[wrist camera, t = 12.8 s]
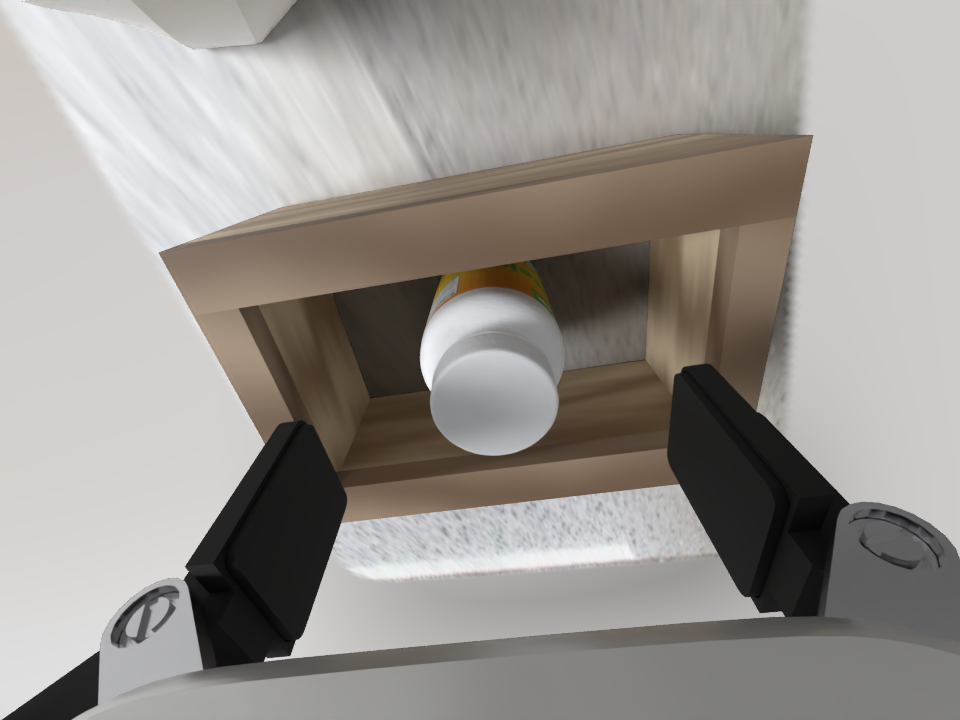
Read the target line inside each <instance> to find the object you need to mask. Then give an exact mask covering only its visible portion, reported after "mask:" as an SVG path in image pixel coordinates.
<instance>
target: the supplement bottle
mask: <svg viewBox="0 0 960 720" xmlns="http://www.w3.org/2000/svg"><path fill="white" fill-rule="evenodd" d="M420 364H421V371H422V374H423V377H424V380H425V382H426V384H427V386H428V388H429V389H430V391H431V395H430V408H431V414H432V417H433V420H434V422H435V424H436V426H437V428H438V429H439V431H440V432H441V433H442V434H443V435H444V436H445V437H446V438H447V439H448V440H449V441H450V442H452V443H453V444H455V445H456V446H458V447H460V448H462V449H464V450H466V451H469V452H472V453H476V454H480V455H491V456H497V455H506V454H511V453H515V452H518V451H521V450H523V449H526V448H528V447H530V446H531V445H533V444H534V443H536V442H537V441H538V440H540V439H541V438H542V437H543V436H544V435H545V434H546V433H547V432H548V430H549V429H550V428H551V426H552V425H553V423H554V420H555V418H556V415H557V411H558V406H559V396H558V390H557V385H558V383H559V381H560V378H561V376H562V373H563V369H564V365H565V347H564V342H563V338H562V334H561V331H560V329H559V326H558V323H557V321H556V318H555V316H554V314H553V311H552V309H551V306H550V303H549V301H548V298H547V295H546V292H545V290H544V287H543V284H542V281H541V279H540V277H539V275H538V273H537V271H536V269H535V268H534V267H533V265H532V264H531V263H530V262H529V261H524V262H517V263H511V264H505V265H499V266H493V267H487V268H481V269H475V270H469V271H463V272H457V273H451V274H444V275H442V276H441V279H440V281H439V284H438V287H437V290H436V293H435V297H434V300H433V304H432V307H431V310H430V314H429V317H428V321H427V324H426V327H425V330H424V334H423V338H422V343H421V350H420Z"/></svg>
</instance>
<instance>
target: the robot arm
mask: <svg viewBox="0 0 960 720" xmlns="http://www.w3.org/2000/svg"><path fill="white" fill-rule="evenodd" d="M667 458H668V463H669V465H670V468H671V470H672V471H673V473H674V475H675V477H676V479H677V480H678V482H679V484H680V486H681V488H682V489H683V491H684V493H685V495H686V497H687V498H688V500H689V502H690V504H691V506H692V507H693V509H694V511H695V513H696V515H697V516H698V518H699V520H700V522H701V524H702V525H703V527H704V529H705V531H706V532H707V534H708V536H709V538H710V540H711V541H712V543H713V545H714V547H715V549H716V550H717V552H718V554H719V556H720V558H721V559H722V561H723V563H724V565H725V566H726V568H727V570H728V572H729V574H730V576H731V577H732V579H733V581H734V583H735V585H736V586H737V588H738V590H739V591H740V593H741V594H742V595H743V596H745V597H751V598H752V600H753V602H754V604H755V605H756V607H757V609H758V611H759V612H760V613H768V612H778V611H782V612H783V614H784V615H785V617H768V618H754V619H738V620H723V621H709V622H694V623H680V624H669V625H656V626H645V627H633V628H621V629H610V630H598V631H587V632H576V633H563V634H551V635H540V636H529V637H518V638H507V639H496V640H484V641H473V642H463V643H452V644H441V645H430V646H419V647H408V648H398V649H387V650H377V651H367V652H357V653H346V654H336V655H325V656H315V657H304V658H294V659H285V660H276V661H268V662H264V660H265V657H267V658H274V657H285V656H290V655H291V652H292V649H293V646H294V644H295V641H296V640H297V639H299V638H300V637H301V636H302V634H303V632H304V630H305V627H306V624H307V621H308V619H309V616H310V613H311V610H312V607H313V603H314V601H315V598H316V595H317V592H318V589H319V586H320V583H321V580H322V577H323V574H324V571H325V569H326V565H327V562H328V560H329V557H330V554H331V551H332V548H333V545H334V542H335V539H336V536H337V533H338V530H339V527H340V524H341V521H342V519H343V516H344V513H345V510H346V506H347V495H346V492H345V490H344V488H343V486H342V484H341V482H340V480H339V478H338V475H337V473H336V471H335V469H334V467H333V465H332V463H331V461H330V459H329V457H328V455H327V453H326V451H325V449H324V447H323V445H322V443H321V441H320V438H319V436H318V434H317V432H316V430H315V428H314V427H313V426H312V425H308V424H307V423H306V422H305V421H303V420H299V421H292V422H284V423H281V424H279V425H278V426H277V427H276V429H275V430H274V432H273V433H272V435H271V436H270V438H269V440H268V441H267V443H266V444H265V446H264V447H263V449H262V450H261V452H260V453H259V455H258V456H257V458H256V459H255V461H254V462H253V464H252V465H251V467H250V469H249V470H248V472H247V473H246V475H245V476H244V478H243V479H242V481H241V482H240V484H239V485H238V487H237V488H236V490H235V491H234V493H233V494H232V496H231V497H230V499H229V501H228V502H227V504H226V505H225V507H224V508H223V510H222V511H221V513H220V514H219V516H218V517H217V519H216V520H215V522H214V523H213V525H212V526H211V528H210V529H209V531H208V533H207V534H206V535H205V537H204V538H203V540H202V542H201V543H200V545H199V546H198V548H197V549H196V551H195V552H194V554H193V555H192V557H191V558H190V560H189V561H188V563H187V564H186V566H185V567H186V569H187V570H188V571H189V572H188V574H187V576H186V577H185V579H184V580H181V579H179V578H168V579H164V580H161V581H159V582H156V583H154V584H152V585H150V586H148V587H146V588H144V589H143V590H141V591H140V592H139V593H137V594H136V595H134V596H133V597H132V598H131V599H129V600H128V601H127V602H126V603H125V604H124V605H123V606H122V607H121V608H120V609H119V610H118V611H117V613H116V614H115V615H114V616H113V618H112V619H111V620H110V622H109V623H108V625H107V627H106V629H105V631H104V633H103V635H102V639H101V643H100V651H99V652H97V653H95V654H94V655H93V656H91V657H90V658H88V659H87V660H86V661H84V662H83V663H81V664H80V665H79V666H77V667H76V668H74V669H73V670H72V671H70V672H69V673H67V674H66V675H64V676H63V677H62V678H60V679H59V680H57V681H56V682H55V683H53V684H52V685H50V686H49V687H47V688H46V689H45V690H43V691H42V692H40V693H39V694H38V695H36V696H35V697H33V698H32V699H30V700H29V701H28V702H26V703H25V704H23V705H22V706H21V707H19V708H18V709H16V710H15V711H14V712H12V713H11V714H9V715H8V716H7V717H5V718H4V719H2V720H960V558H959V556H958V553H957V550H956V548H955V547H954V546H953V545H952V544H951V542H950V541H949V540H948V538H947V537H946V536H945V535H944V534H943V533H941V532H940V531H939V530H938V529H936V528H935V527H934V526H932V525H931V524H930V523H928V522H926V521H925V520H923V519H921V518H919V517H917V516H916V515H914V514H912V513H909V512H907V511H904V510H902V509H899V508H897V507H894V506H889V505H885V504H881V503H874V502H859V503H854V504H849V503H848V502H847V501H846V500H845V499H844V498H843V497H842V496H841V495H840V494H839V493H838V491H837V490H836V489H834V487H833V486H832V485H831V484H829V482H828V481H827V480H826V479H825V478H824V477H823V476H822V475H821V474H820V473H819V472H818V471H817V470H816V469H815V468H814V467H813V466H812V465H811V464H810V463H809V462H808V461H807V460H806V459H805V458H804V457H803V455H801V453H800V452H799V451H798V450H797V449H796V448H795V447H794V446H793V445H792V444H791V443H790V442H789V441H788V440H787V439H786V438H785V437H784V436H783V435H782V434H781V433H780V432H779V431H778V430H777V429H776V428H775V427H774V426H773V425H772V424H771V423H770V422H769V420H768V419H767V418H766V417H764V416H763V415H762V414H760V413H758V412H756V411H755V410H754V409H753V408H752V406H751V405H750V404H749V403H748V402H747V401H746V400H745V399H744V398H743V397H742V396H741V395H740V394H739V393H738V392H737V391H736V390H735V389H734V388H733V387H732V386H731V385H730V384H729V383H728V381H727V380H726V379H725V378H724V377H723V376H722V375H721V374H720V373H719V372H718V371H717V370H716V369H715V368H714V367H713V366H712V365H711V364H708V363H706V364H699V365H692V366H685V367H683V368H682V370H681V373H677V374H675V376H674V383H673V394H672V405H671V416H670V426H669V437H668V448H667Z"/></svg>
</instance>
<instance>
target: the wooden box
mask: <svg viewBox="0 0 960 720" xmlns="http://www.w3.org/2000/svg"><path fill="white" fill-rule="evenodd" d="M812 138H813V135H701V134H678V135H672V136H667V137H661V138H656V139H651V140H645V141H640V142H634V143H629V144H624V145H618V146H613V147H607V148H602V149H596V150H591V151H586V152H580V153H575V154H569V155H564V156H559V157H553V158H548V159H542V160H537V161H531V162H526V163H521V164H515V165H510V166H504V167H499V168H494V169H488V170H483V171H477V172H472V173H467V174H461V175H456V176H450V177H445V178H439V179H434V180H429V181H423V182H418V183H412V184H407V185H402V186H396V187H391V188H385V189H380V190H374V191H369V192H364V193H358V194H353V195H347V196H342V197H337V198H331V199H326V200H320V201H315V202H309V203H304V204H299V205H293V206H288V207H282V208H278V209H275V210H273V211H270V212H267V213H265V214H262V215H259V216H256V217H254V218H251V219H248V220H246V221H243V222H240V223H238V224H235V225H232V226H229V227H227V228H224V229H221V230H219V231H216V232H213V233H211V234H208V235H205V236H203V237H200V238H197V239H194V240H192V241H189V242H186V243H184V244H181V245H178V246H176V247H173V248H170V249H167V250H165V251H162V252H159V254H160V256H161V258H162V260H163V261H164V263H165V265H166V267H167V269H168V270H169V272H170V274H171V276H172V278H173V279H174V281H175V283H176V285H177V287H178V288H179V290H180V292H181V294H182V296H183V297H184V299H185V301H186V303H187V305H188V306H189V308H190V310H191V312H192V314H193V315H194V317H195V319H196V321H197V323H198V324H199V326H200V328H201V330H202V332H203V333H204V335H205V337H206V339H207V341H208V342H209V344H210V346H211V348H212V350H213V351H214V353H215V355H216V357H217V359H218V360H219V362H220V364H221V366H222V367H223V369H224V371H225V373H226V375H227V376H228V378H229V380H230V382H231V384H232V385H233V387H234V389H235V391H236V393H237V394H238V396H239V398H240V400H241V402H242V403H243V405H244V407H245V409H246V411H247V412H248V414H249V416H250V418H251V420H252V421H253V423H254V425H255V427H256V429H257V430H258V432H259V434H260V436H261V438H262V439H263V441H264V443H265V444H266V443H267V441H268V440H269V438H270V436H271V435H272V433H273V432H274V430H275V429H276V427H277V426H278V425H279V424H281V423H284V422H292V421H299V420H303V421H305V422H306V423H307V424H308V425H312V426H313V427H314V428H315V430H316V432H317V434H318V436H319V438H320V441H321V443H322V445H323V447H324V449H325V451H326V453H327V455H328V457H329V459H330V461H331V463H332V465H333V467H334V469H335V471H336V473H337V475H338V478H339V480H340V482H341V484H342V486H343V488H344V490H345V492H346V495H347V506H346V510H345V513H344V516H343V519H342V521H341V523H344V522H353V521H361V520H370V519H379V518H388V517H396V516H405V515H414V514H422V513H431V512H440V511H449V510H457V509H466V508H475V507H483V506H492V505H501V504H509V503H518V502H527V501H536V500H544V499H553V498H562V497H570V496H579V495H588V494H597V493H605V492H614V491H623V490H631V489H640V488H649V487H658V486H666V485H675V484H679V482H678V480H677V479H676V477H675V475H674V473H673V471H672V470H671V468H670V465H669V463H668V458H667V448H668V437H669V426H670V416H671V405H672V394H673V383H674V376H675V374H677V373H681V370H682V368H683V367H685V366H692V365H699V364H706V363H708V364H711V365H712V366H713V367H714V368H715V369H716V370H717V371H718V372H719V373H720V374H721V375H722V376H723V377H724V378H725V379H726V380H727V381H728V383H729V384H730V385H731V386H732V387H733V388H734V389H735V390H736V391H737V392H738V393H739V394H740V395H741V396H742V397H743V398H744V399H745V400H746V401H747V402H748V403H749V404H750V405H751V406H752V408H753V409H754V410H755V411H756V410H757V405H758V400H759V395H760V391H761V386H762V381H763V376H764V371H765V366H766V361H767V357H768V352H769V347H770V342H771V337H772V332H773V327H774V323H775V318H776V313H777V308H778V303H779V298H780V294H781V289H782V284H783V279H784V274H785V269H786V264H787V260H788V255H789V250H790V245H791V240H792V235H793V231H794V226H795V221H796V216H797V211H798V206H799V201H800V197H801V192H802V187H803V182H804V177H805V172H806V167H807V163H808V158H809V153H810V148H811V143H812ZM645 241H650V267H649V293H648V319H647V345H646V360H642V361H635V362H627V363H620V364H613V365H606V366H599V367H592V368H585V369H578V370H570V371H563V373H562V376H561V378H560V381H559V383H558V385H557V390H558V396H559V406H558V411H557V415H556V418H555V420H554V423H553V425H552V426H551V428H550V429H549V430H548V432H547V433H546V434H545V435H544V436H543V437H542V438H541V439H540V440H538V441H537V442H536V443H534V444H533V445H531V446H530V447H528V448H526V449H523V450H521V451H518V452H515V453H511V454H506V455H497V456H491V455H480V454H476V453H472V452H469V451H466V450H464V449H462V448H460V447H458V446H456V445H455V444H453V443H452V442H450V441H449V440H448V439H447V438H446V437H445V436H444V435H443V434H442V433H441V432H440V431H439V429H438V428H437V426H436V424H435V422H434V420H433V417H432V414H431V408H430V395H431V391H430V390H428V391H421V392H414V393H407V394H400V395H393V396H386V397H378V398H371V399H370V396H369V394H368V391H367V388H366V385H365V383H364V380H363V377H362V374H361V372H360V369H359V366H358V363H357V361H356V358H355V355H354V352H353V350H352V347H351V344H350V342H349V339H348V336H347V333H346V331H345V328H344V325H343V322H342V320H341V317H340V314H339V311H338V309H337V306H336V303H335V300H334V298H333V295H332V293H335V292H341V291H347V290H353V289H359V288H365V287H371V286H378V285H384V284H390V283H396V282H402V281H408V280H414V279H420V278H426V277H432V276H438V275H444V274H451V273H457V272H463V271H469V270H475V269H481V268H487V267H493V266H499V265H505V264H511V263H517V262H524V261H530V260H536V259H542V258H548V257H554V256H560V255H566V254H572V253H578V252H584V251H590V250H597V249H603V248H609V247H615V246H621V245H627V244H633V243H639V242H645Z"/></svg>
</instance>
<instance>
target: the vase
mask: <svg viewBox="0 0 960 720" xmlns="http://www.w3.org/2000/svg"><path fill="white" fill-rule="evenodd" d="M20 1H22V2H26V3H30V4H34V5H37V6H41V7H45V8H50V9H56V10H61V11H67V12H75V13H82V14H88V15H94V16H98V17H102V18H106V19H110V20H113V21H117V22H121V23H125V24H129V25H133V26H136V27H139V28H142V29H145V30H147V31H150V32H153V33H156V34H158V35H161V36H164V37H166V38H169V39H172V40H174V41H176V42H178V43H180V44H182V45H184V46H186V47H189V48H191V49H205V48H216V47H228V46H239V45H251V44H257V43H260V42H262V41H263V40H264V39H265V38H266V36H267V35H268V34H269V33H270V32H271V31H272V29H273V28H274V27H275V26H276V25H277V24H278V22H279V21H280V20H281V19H282V18H283V17H284V15H285V14H286V13H287V12H288V11H289V10H290V8H291V7H292V6H293V5H294V4H295V3H296V1H297V0H20Z"/></svg>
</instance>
